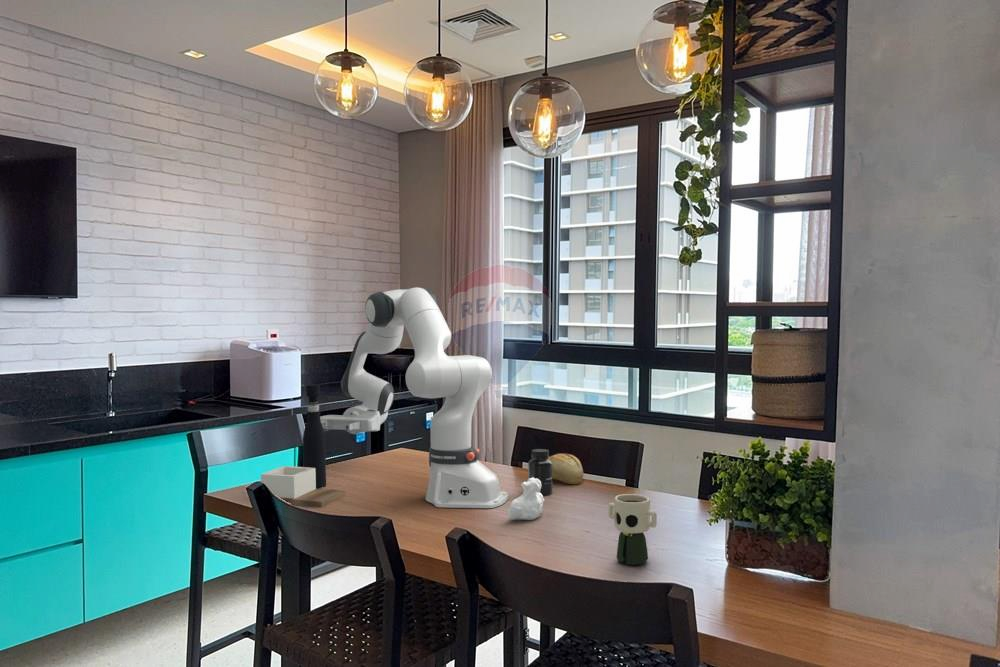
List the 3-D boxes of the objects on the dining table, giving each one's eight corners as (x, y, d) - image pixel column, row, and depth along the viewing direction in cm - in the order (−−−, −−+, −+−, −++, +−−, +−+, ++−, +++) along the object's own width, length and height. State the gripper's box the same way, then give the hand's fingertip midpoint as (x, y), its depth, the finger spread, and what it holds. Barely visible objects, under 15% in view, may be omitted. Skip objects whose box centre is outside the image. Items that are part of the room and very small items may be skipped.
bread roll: (556, 473, 219) (555, 448, 219) (592, 482, 208) (591, 455, 207) (534, 478, 213) (533, 452, 212) (569, 488, 201) (569, 460, 201)
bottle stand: (345, 495, 195) (344, 469, 195) (321, 507, 184) (321, 479, 183) (283, 491, 201) (282, 465, 201) (257, 502, 190) (256, 474, 189)
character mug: (599, 560, 143) (599, 497, 142) (618, 551, 148) (618, 490, 147) (647, 573, 135) (647, 506, 135) (665, 562, 141) (664, 498, 140)
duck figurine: (513, 533, 167) (535, 501, 163) (494, 509, 171) (515, 477, 166) (543, 521, 177) (565, 490, 172) (524, 499, 180) (545, 468, 175)
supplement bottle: (553, 496, 192) (552, 452, 192) (528, 496, 192) (528, 453, 192) (552, 489, 199) (551, 447, 199) (528, 489, 199) (527, 448, 199)
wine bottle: (309, 490, 201) (307, 386, 200) (300, 486, 206) (298, 385, 205) (330, 486, 206) (328, 385, 205) (320, 482, 211) (318, 383, 210)
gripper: (328, 409, 232) (304, 415, 219) (383, 411, 226) (363, 417, 213) (328, 428, 232) (305, 435, 219) (384, 430, 226) (363, 438, 213)
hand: (334, 426), depth 216 cm, fingers open, 8 cm apart
